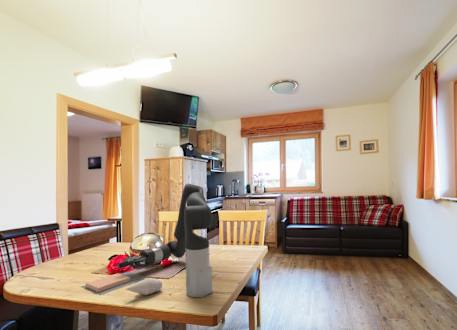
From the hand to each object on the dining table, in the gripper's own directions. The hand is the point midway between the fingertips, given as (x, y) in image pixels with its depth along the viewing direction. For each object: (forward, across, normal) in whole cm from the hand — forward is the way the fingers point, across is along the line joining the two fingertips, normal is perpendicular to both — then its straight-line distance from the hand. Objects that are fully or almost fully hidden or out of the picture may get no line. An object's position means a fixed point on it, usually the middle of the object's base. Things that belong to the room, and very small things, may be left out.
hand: (118, 265), depth 117 cm
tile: (-2, 0, +6) cm, 6 cm away
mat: (+2, 0, +7) cm, 7 cm away
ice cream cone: (+3, +22, +7) cm, 23 cm away
